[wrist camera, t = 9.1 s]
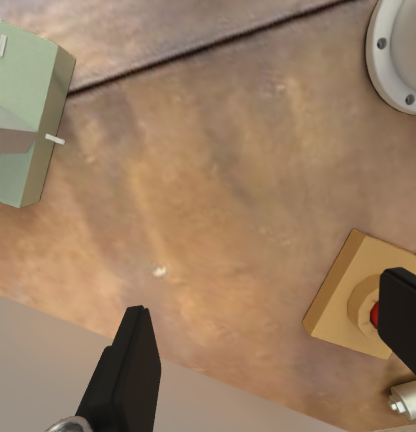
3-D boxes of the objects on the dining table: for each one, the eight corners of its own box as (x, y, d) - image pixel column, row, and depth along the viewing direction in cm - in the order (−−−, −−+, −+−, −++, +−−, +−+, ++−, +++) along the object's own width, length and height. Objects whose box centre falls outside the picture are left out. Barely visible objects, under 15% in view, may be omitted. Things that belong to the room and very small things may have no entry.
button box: (352, 228, 27) (379, 241, 23) (428, 259, 28) (465, 276, 25) (301, 322, 29) (318, 348, 26) (373, 346, 31) (399, 374, 27)
